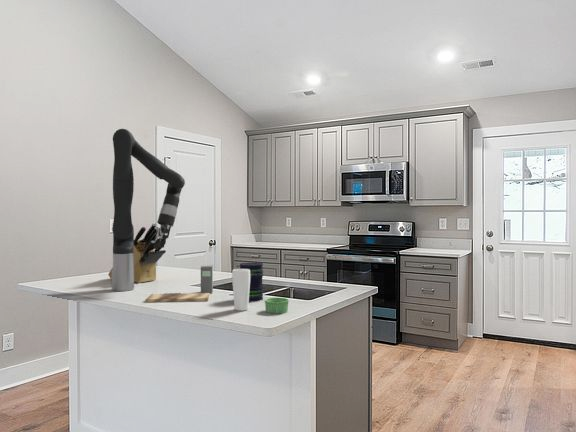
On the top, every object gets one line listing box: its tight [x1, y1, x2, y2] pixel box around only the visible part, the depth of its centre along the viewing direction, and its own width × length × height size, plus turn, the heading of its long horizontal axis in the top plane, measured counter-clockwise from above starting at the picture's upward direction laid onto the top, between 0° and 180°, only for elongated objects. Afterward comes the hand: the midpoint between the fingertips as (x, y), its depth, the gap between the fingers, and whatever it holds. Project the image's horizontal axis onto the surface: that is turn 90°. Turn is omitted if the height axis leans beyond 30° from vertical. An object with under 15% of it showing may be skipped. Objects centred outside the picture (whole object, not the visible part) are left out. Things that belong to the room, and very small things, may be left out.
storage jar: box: [239, 262, 264, 302], centre depth 192 cm, size 10×10×15 cm
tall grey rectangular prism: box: [200, 265, 214, 295], centre depth 208 cm, size 5×5×12 cm
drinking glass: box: [231, 268, 250, 312], centre depth 171 cm, size 7×7×15 cm
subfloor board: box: [145, 292, 211, 303], centre depth 193 cm, size 25×12×1 cm, turn 95°
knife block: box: [108, 222, 167, 284], centre depth 243 cm, size 11×35×31 cm, turn 57°
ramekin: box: [264, 297, 290, 314], centre depth 169 cm, size 9×9×4 cm
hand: (158, 248), depth 212 cm, fingers open, 8 cm apart
